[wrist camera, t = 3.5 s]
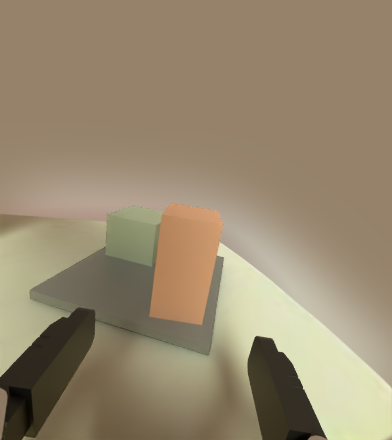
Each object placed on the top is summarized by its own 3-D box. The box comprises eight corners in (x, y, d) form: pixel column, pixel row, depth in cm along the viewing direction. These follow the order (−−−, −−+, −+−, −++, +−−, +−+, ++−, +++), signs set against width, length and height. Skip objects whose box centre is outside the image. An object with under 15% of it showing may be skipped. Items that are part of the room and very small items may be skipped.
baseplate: (30, 298, 19) (29, 290, 19) (126, 239, 37) (127, 234, 36) (208, 355, 17) (210, 346, 17) (222, 262, 34) (223, 257, 34)
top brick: (149, 316, 18) (161, 214, 16) (159, 285, 23) (171, 203, 21) (201, 325, 19) (223, 224, 16) (201, 292, 23) (217, 210, 21)
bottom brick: (105, 254, 28) (107, 214, 26) (130, 238, 35) (133, 205, 33) (151, 266, 27) (156, 225, 25) (168, 247, 34) (173, 214, 32)
